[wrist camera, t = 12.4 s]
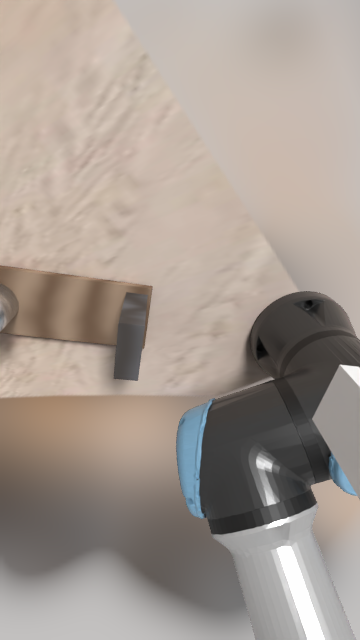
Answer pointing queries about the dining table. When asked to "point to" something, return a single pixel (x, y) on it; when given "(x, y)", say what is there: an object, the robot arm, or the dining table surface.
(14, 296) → the steel tin
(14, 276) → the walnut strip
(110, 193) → the dining table surface
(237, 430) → the robot arm
